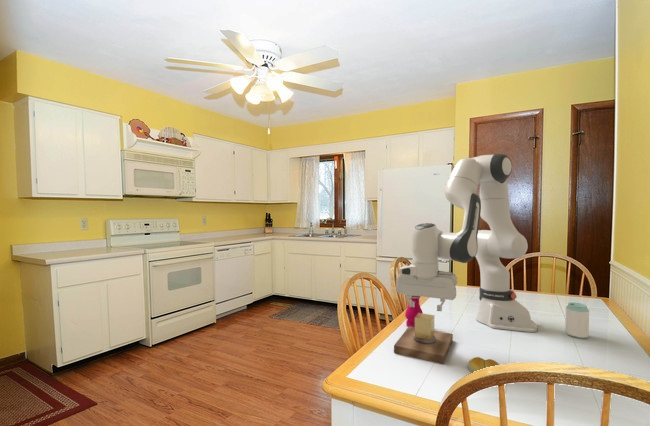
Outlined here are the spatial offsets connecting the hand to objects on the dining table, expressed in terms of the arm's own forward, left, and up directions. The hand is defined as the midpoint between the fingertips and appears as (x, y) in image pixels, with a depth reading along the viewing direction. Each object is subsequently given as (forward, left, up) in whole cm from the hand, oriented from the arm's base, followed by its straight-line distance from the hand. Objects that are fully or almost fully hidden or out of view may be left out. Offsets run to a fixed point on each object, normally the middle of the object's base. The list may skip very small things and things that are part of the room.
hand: (425, 308), depth 114 cm
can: (-49, -38, -14) cm, 63 cm away
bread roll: (-19, +10, -14) cm, 26 cm away
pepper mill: (+8, -18, -14) cm, 24 cm away
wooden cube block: (0, 0, -10) cm, 10 cm away
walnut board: (0, 0, -13) cm, 13 cm away
